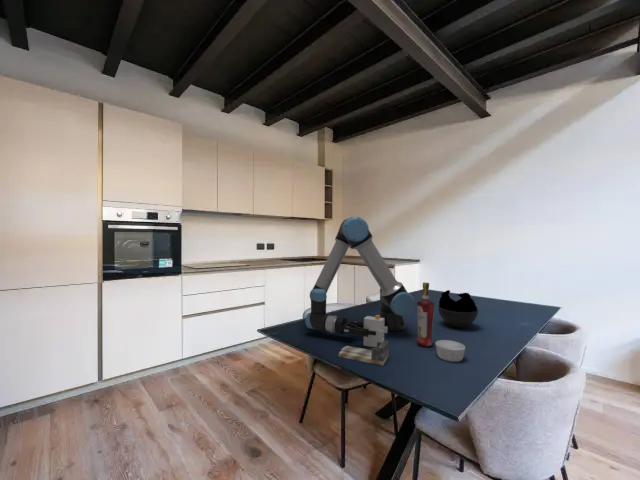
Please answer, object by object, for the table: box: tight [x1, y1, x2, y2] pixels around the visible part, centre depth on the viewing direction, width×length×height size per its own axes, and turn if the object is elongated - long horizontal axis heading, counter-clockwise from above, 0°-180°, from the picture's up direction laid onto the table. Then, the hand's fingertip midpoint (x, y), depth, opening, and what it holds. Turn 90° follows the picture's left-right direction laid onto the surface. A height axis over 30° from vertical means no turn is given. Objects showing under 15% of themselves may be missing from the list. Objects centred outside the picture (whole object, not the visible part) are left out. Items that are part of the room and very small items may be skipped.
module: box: [363, 314, 385, 349], centre depth 135 cm, size 8×5×13 cm, turn 64°
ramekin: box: [434, 339, 466, 363], centre depth 122 cm, size 11×11×5 cm
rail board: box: [338, 339, 390, 366], centre depth 121 cm, size 18×9×6 cm, turn 64°
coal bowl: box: [437, 289, 479, 328], centre depth 165 cm, size 20×20×19 cm
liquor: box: [416, 282, 435, 348], centre depth 135 cm, size 7×7×28 cm
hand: (385, 332), depth 132 cm, fingers open, 6 cm apart
